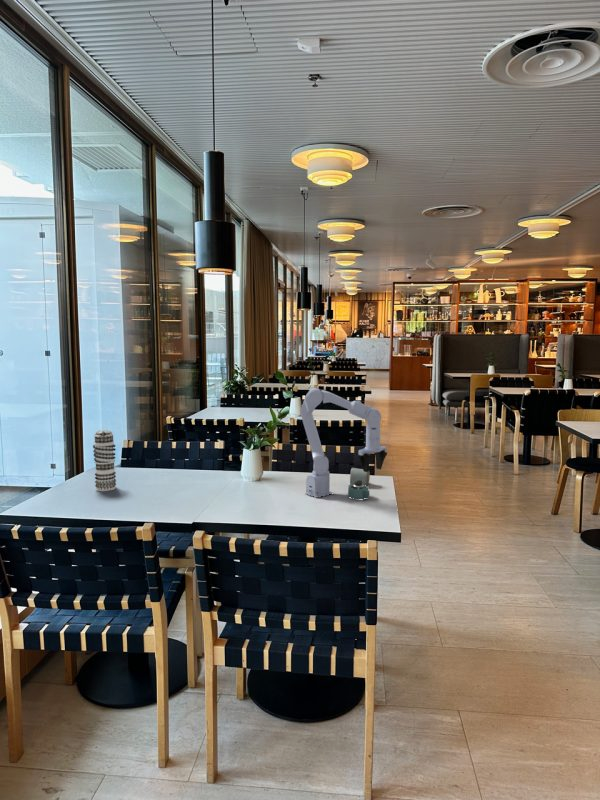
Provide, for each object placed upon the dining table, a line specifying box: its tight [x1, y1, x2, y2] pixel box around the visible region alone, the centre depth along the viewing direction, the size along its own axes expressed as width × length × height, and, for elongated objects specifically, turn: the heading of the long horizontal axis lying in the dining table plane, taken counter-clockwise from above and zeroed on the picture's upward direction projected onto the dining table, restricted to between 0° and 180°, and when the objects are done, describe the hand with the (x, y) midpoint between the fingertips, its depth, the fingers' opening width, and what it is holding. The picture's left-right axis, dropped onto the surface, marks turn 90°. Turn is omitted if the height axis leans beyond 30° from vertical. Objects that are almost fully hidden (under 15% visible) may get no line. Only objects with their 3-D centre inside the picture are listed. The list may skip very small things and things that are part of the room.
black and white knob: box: [353, 479, 364, 489], centre depth 227 cm, size 6×6×6 cm
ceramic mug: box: [349, 467, 371, 486], centre depth 247 cm, size 11×8×8 cm
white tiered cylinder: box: [92, 429, 117, 492], centre depth 238 cm, size 9×9×25 cm
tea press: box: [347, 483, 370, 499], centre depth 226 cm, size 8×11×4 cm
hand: (372, 470), depth 229 cm, fingers open, 7 cm apart
